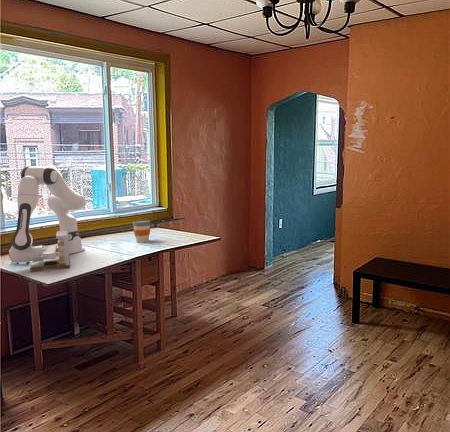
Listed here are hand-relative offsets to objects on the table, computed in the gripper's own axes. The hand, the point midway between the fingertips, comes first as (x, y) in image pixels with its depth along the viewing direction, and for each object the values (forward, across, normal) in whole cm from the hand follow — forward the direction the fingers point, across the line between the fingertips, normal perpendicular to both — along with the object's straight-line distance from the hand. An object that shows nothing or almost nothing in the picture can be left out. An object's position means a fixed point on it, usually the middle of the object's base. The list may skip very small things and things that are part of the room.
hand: (64, 251), depth 266 cm
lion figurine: (-24, +16, +9) cm, 30 cm away
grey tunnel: (-1, 0, +7) cm, 7 cm away
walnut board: (-8, 0, +8) cm, 12 cm away
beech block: (-1, 0, +6) cm, 7 cm away
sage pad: (-15, 0, +7) cm, 17 cm away
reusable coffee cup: (+52, +49, +9) cm, 72 cm away
